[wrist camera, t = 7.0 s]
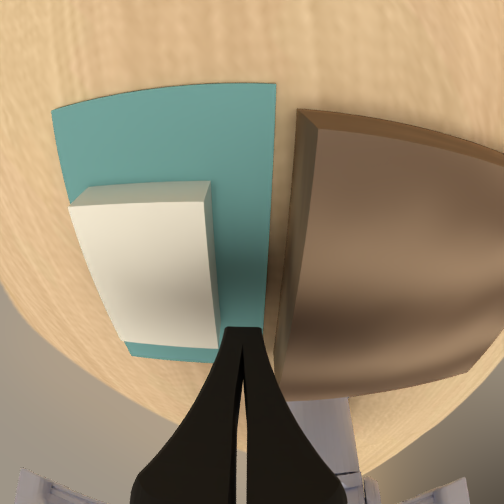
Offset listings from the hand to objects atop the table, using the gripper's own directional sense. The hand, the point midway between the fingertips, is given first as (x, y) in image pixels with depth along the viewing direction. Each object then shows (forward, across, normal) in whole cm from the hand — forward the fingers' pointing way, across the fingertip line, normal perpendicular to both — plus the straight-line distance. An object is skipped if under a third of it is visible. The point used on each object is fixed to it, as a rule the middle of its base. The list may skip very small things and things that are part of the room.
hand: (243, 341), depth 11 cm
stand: (+5, -10, 0) cm, 11 cm away
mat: (+5, +4, 0) cm, 6 cm away
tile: (+3, +4, 0) cm, 6 cm away
